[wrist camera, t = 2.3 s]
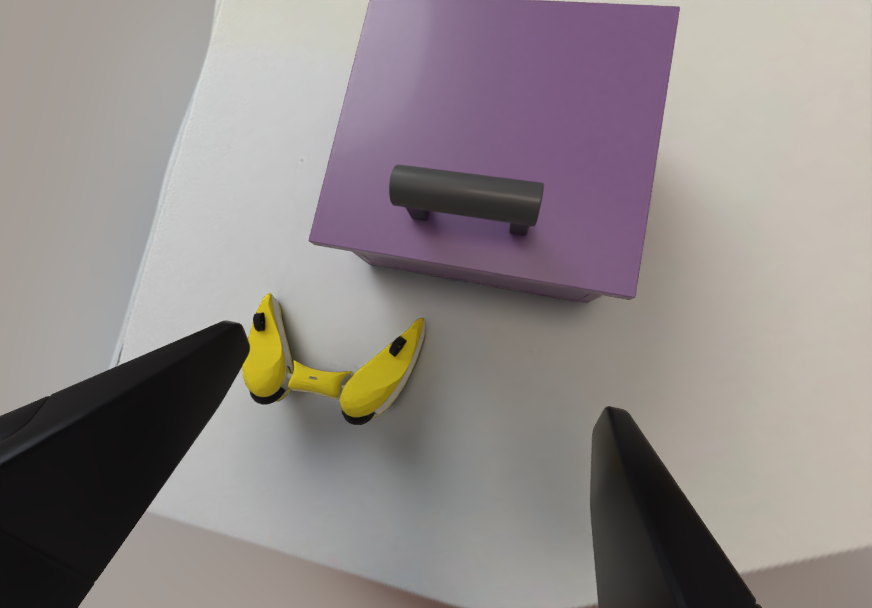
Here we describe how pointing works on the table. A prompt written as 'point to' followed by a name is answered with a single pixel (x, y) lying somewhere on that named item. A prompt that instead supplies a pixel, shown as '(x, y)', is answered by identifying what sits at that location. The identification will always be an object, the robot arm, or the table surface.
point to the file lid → (502, 139)
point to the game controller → (358, 398)
